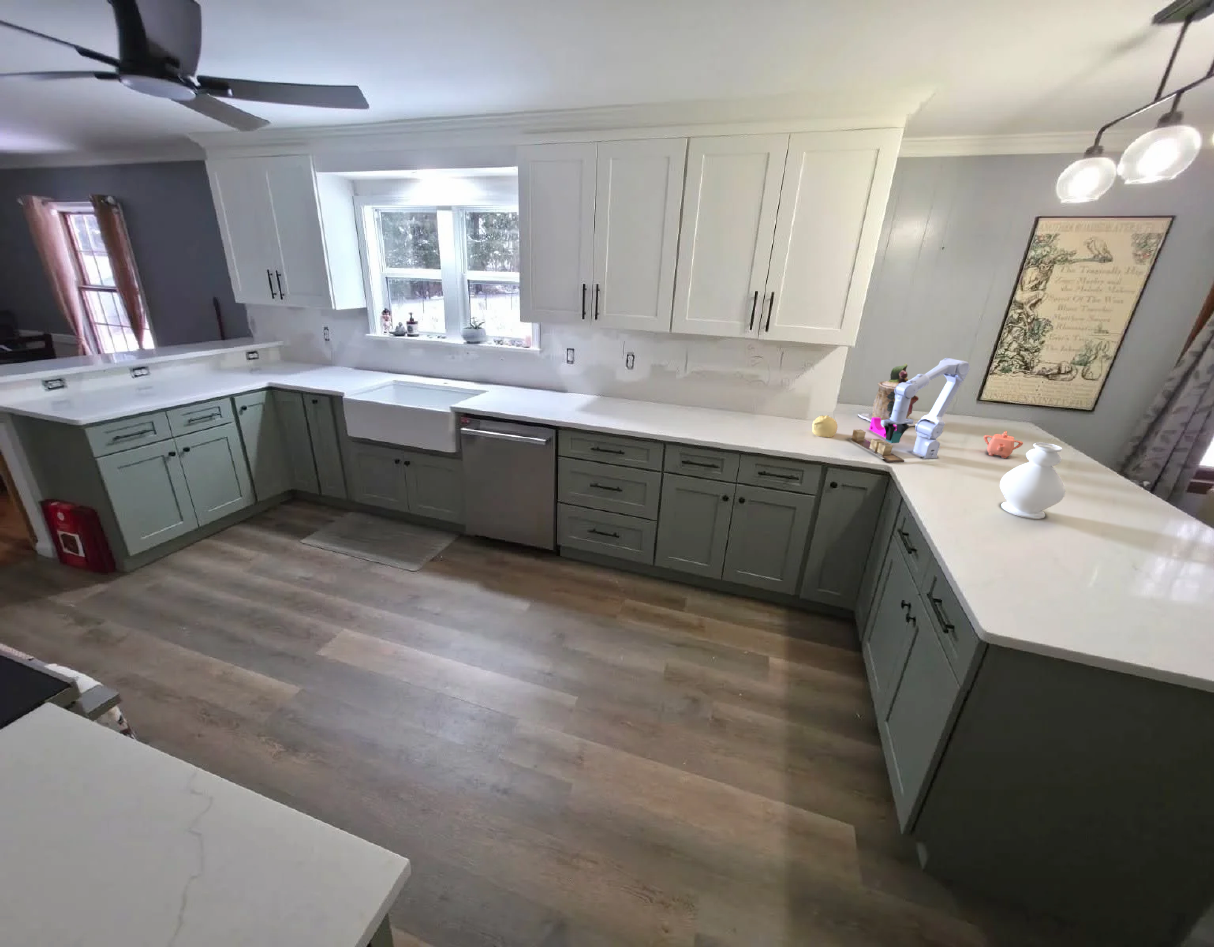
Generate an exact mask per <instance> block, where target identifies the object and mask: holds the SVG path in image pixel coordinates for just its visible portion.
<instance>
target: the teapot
mask: <svg viewBox="0 0 1214 947" xmlns="http://www.w3.org/2000/svg"><path fill="white" fill-rule="evenodd" d="M988 438H991V439H990V440H988ZM983 440H984V442H985V443H986V444H987V447H986V449H987V450H986V451H987V453H988V454H987V455H988V456H991V457H993V456H995V455H996V456H1000V457H1001V459H1007V458H1008V457H1010V456H1011V455H1012V454H1013V453H1014V452H1013V451H1014V450H1016V449H1018V448H1021V447H1022V446H1023V445H1024V441H1022V440H1016V439H1015V437H1014V436H1013V435H1012V436H1011V435H1009V434H1008V431H1007V430H1004V431H1003V433H1001V434H1000V433H994V434H993V435H990V434H985V435H983ZM1015 443H1018V444H1017V445H1016V446H1015Z"/></svg>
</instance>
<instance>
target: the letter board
mask: <svg viewBox="0 0 1214 947" xmlns="http://www.w3.org/2000/svg"><path fill="white" fill-rule="evenodd" d="M847 439H848V440H850V441H852V442H853V443H855V444H857V445H859V446H861V447H862V448H864V449H866V450H868V451H869V452H872V453H873V454H875V455H877V456H879V457H880V458H881V460H882V461H884V462H885V463H887V464H892V463H904V462H905V459H904V458H901V457H900V456H898V455H896V454H894V453H892V450H893V448H894V447H893V446H894V445H893V444H892V443H890V442H886V440H885V441H884V440H883V439H881V438H871V440H870V441H869V440H868V439H866V431H865V430H863V429H859V428H858V429H853V431H852V435H851V437H847Z"/></svg>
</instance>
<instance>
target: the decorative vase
mask: <svg viewBox="0 0 1214 947" xmlns="http://www.w3.org/2000/svg"><path fill="white" fill-rule="evenodd" d="M1032 446H1033V447H1034V448H1031V449H1029V450H1028V451H1027V452H1026V453H1025V457H1026V459H1027V460H1028V461H1027V462H1025V463H1023V464H1019V465H1017V466H1015V467H1014V468H1011V469H1010V470H1008V471H1007V472H1006V473H1005V474H1004V475H1003V476H1002V477H1001V478H1000V481H999V488H1000V491H1001V493H1002V496H1003V497H1004V499H1005V500H1006V501H1003V502H1001V505H1000V507H1001V508H1002V509H1003V510H1004V511H1006V512H1007V513H1009V514H1011V515H1014V516H1018V517H1020V518H1025V519H1030V520H1031V519H1032V520H1042V519H1044V518H1045V517H1046V513H1045V512H1044V510H1047V509H1049V508H1051V507H1053V506H1056V505H1057V504H1059V503H1060V502H1061V501H1062V500H1063V499H1064V497H1065V494H1066V486H1065V483H1064V481H1063V479H1062V477H1061V476H1060V474H1059V473H1058V472H1057V470H1056V469H1055V468H1054V466H1056V465H1059V464H1061V462H1062V459H1063V458H1062V456H1061V455H1060V452H1062V450H1063V447H1061V446H1060V445H1056V444H1053V443H1049V442H1044V441H1043V442H1042V441H1037V442H1033V445H1032Z"/></svg>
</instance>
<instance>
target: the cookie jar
mask: <svg viewBox="0 0 1214 947" xmlns="http://www.w3.org/2000/svg"><path fill="white" fill-rule="evenodd" d="M907 368H908V363H904V364H903V365H898V366H894V367H893V368H892V369H891V370H890V373H889V374H890V379H889V380H885V381H879V382H877V387H878V390H877V392H876V395H875V398H874V401H873V404H872V413H871V412H867V413H858V414H857V417H858V418H861V419H864V420H867V421H868V422H870V423H871V419H872V417H879V418H881V420H886V419H890V418H891V415H892V411H893V407H894V403H895V392H894V389H895V388H896V386H897V385H898V384H899V383H902V382H904V383H905V382H907V381H908V380H909V378H908V375H909V374H908V371H907ZM918 401H919V397H918V396H917V395H915V396H914V397H912V398H911V401H910V405H909V408H908V412H907V416H906V419H912V420H914V422H913V424H907V425H909V427H915V426H916V424H917V423H918V422H919V421H920V420H916V419H913V418H910V417H909V416H910V415H912V414H913V406H914V404H915V403H916V402H918ZM895 425H896V424H895ZM896 426H897V425H896ZM882 427H884V425H882Z"/></svg>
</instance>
